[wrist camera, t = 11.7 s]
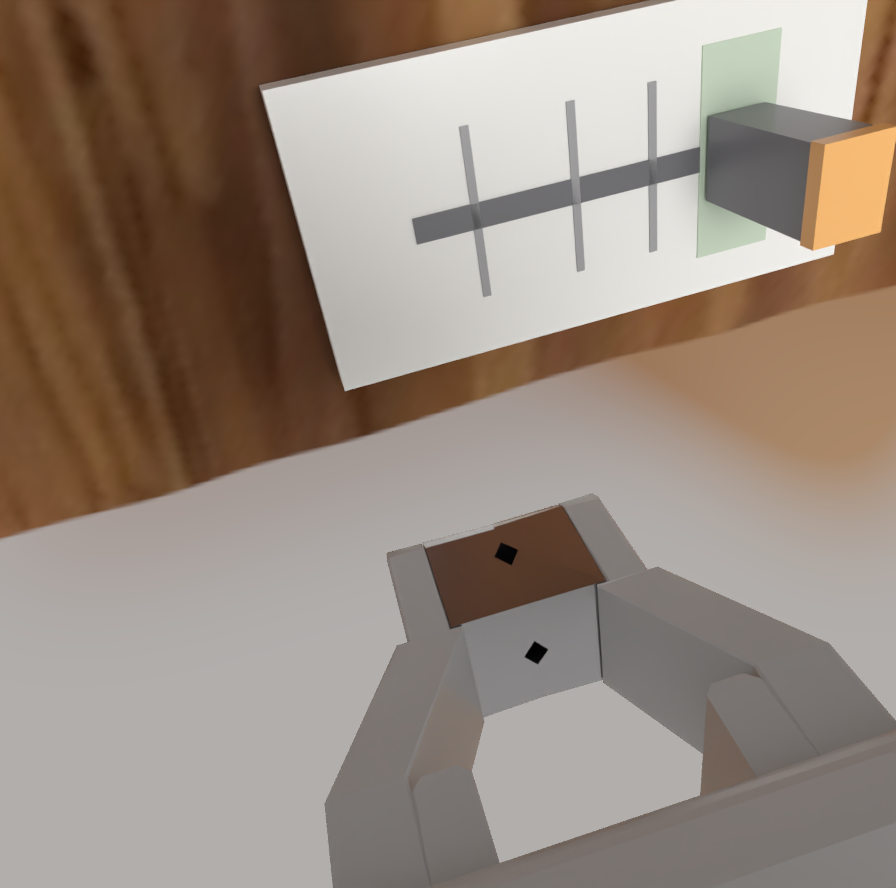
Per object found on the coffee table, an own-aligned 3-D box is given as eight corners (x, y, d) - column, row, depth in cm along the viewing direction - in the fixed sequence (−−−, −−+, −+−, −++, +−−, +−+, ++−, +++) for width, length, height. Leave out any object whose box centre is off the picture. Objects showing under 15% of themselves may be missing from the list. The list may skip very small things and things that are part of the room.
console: (338, 374, 39) (345, 392, 38) (258, 85, 31) (262, 90, 30) (809, 243, 43) (834, 254, 41) (841, -42, 35) (874, -43, 34)
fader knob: (704, 203, 37) (812, 250, 31) (706, 114, 35) (825, 144, 28) (761, 188, 38) (880, 232, 31) (767, 99, 35) (898, 125, 29)
